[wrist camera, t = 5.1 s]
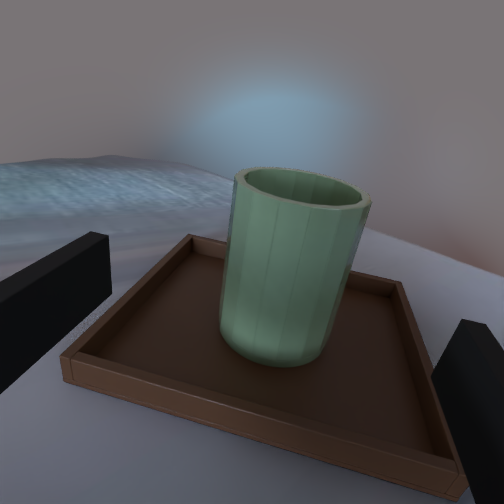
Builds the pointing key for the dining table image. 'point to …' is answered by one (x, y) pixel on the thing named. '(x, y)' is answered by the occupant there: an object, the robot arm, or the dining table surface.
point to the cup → (287, 262)
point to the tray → (278, 373)
